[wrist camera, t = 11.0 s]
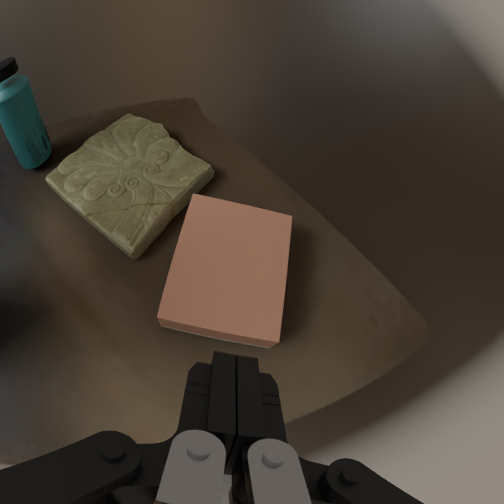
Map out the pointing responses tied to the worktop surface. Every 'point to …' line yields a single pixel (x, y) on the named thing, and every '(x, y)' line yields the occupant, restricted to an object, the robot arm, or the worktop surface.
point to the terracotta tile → (228, 273)
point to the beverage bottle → (22, 117)
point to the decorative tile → (130, 182)
